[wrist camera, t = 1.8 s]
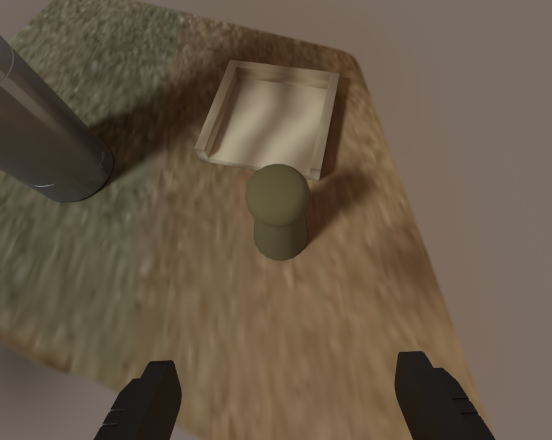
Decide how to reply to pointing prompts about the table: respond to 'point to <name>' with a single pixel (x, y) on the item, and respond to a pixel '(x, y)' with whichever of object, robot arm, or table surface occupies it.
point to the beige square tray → (269, 118)
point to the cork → (278, 210)
